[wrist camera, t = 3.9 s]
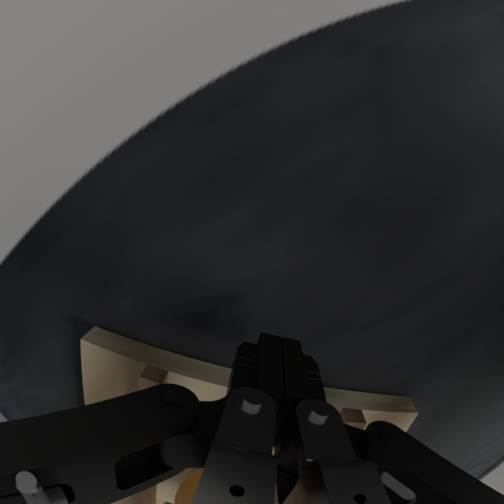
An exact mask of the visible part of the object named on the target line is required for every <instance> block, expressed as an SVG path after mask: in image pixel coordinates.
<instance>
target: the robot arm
mask: <svg viewBox="0 0 504 504" xmlns="http://www.w3.org/2000/svg"><path fill="white" fill-rule="evenodd" d="M319 373H320V372H319V368H318V364H317V363H316V362H315V360H314V359H313V358H312V357H311V356H309V355H304V354H303V353H302V348H301V342H300V341H298V340H294V339H289V338H284V337H281V338H280V337H279V336H275V335H271V334H266V333H262V332H261V333H260V336H259V339H258V342H257V344H253V343H248V342H244V343H242V344H241V345H240V346H239V347H238V349H237V352H236V356H235V360H234V363H233V367H232V371H231V374H230V378H229V382H228V388H227V393H226V396H225V397H223V398H221V399H219V400H215V401H199V399H198V397H197V396H196V395H195V394H194V392H192V391H191V390H189V389H188V388H186V387H184V386H181V385H177V384H171V383H164V384H159V385H155V386H152V387H149V388H146V389H142V390H139V391H136V392H132V393H129V394H125V395H122V396H118V397H115V398H111V399H107V400H104V401H100V402H96V403H92V404H88V405H84V406H80V407H76V408H72V409H67V410H63V411H59V412H54V413H49V414H45V415H40V416H35V417H29V418H24V419H18V420H12V421H6V422H0V504H111V503H114V502H116V501H119V500H122V499H124V498H127V497H129V496H131V495H134V494H136V493H139V492H141V491H143V490H146V489H148V488H150V487H152V486H154V485H157V484H159V483H161V482H163V481H165V480H167V479H169V478H171V477H173V476H175V475H177V474H179V473H181V472H183V471H184V470H185V468H204V469H203V472H202V475H201V478H200V481H199V484H198V487H197V490H196V493H195V496H194V499H193V501H192V504H504V495H502V494H501V493H499V492H497V491H496V490H494V489H492V488H491V487H489V486H487V485H486V484H484V483H482V482H481V481H479V480H477V479H476V478H474V477H473V476H471V475H469V474H468V473H466V472H465V471H463V470H462V469H460V468H458V467H457V466H455V465H454V464H452V463H451V462H449V461H448V460H446V459H445V458H443V457H441V456H440V455H438V454H437V453H435V452H434V451H432V450H431V449H429V448H428V447H427V446H425V445H424V444H422V443H421V442H419V441H418V440H416V439H415V438H413V437H412V436H410V435H409V434H408V433H406V432H405V431H403V430H402V429H400V428H399V427H398V426H396V425H394V424H392V423H390V422H387V421H373V422H371V423H370V424H369V425H368V426H367V427H366V429H365V430H363V429H360V428H357V427H353V426H350V425H348V424H345V423H343V420H342V418H341V415H340V413H339V412H338V410H337V409H336V408H335V407H334V406H332V405H331V404H329V403H327V400H326V396H325V392H324V388H323V384H322V381H321V376H320V374H319ZM273 447H274V454H273V455H272V453H273ZM385 471H386V472H387V473H389V474H390V475H391V476H393V477H394V478H395V479H397V480H398V481H399V482H401V483H402V484H403V485H405V486H406V487H408V488H409V489H410V490H412V491H413V492H414V493H415V495H416V497H415V498H414V499H411V500H406V499H404V498H402V497H401V496H399V495H398V494H397V493H395V492H394V491H392V490H391V489H390V488H388V487H387V486H386V485H385V484H383V482H382V480H381V476H382V474H383V473H384V472H385Z"/></svg>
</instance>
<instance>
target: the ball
mask: <svg viewBox="0 0 504 504" xmlns="http://www.w3.org/2000/svg"><path fill="white" fill-rule="evenodd" d="M203 469H204V468H201V469H199V470H197V471H195V472H193V473H191V474H190V475H189V476H188V477H186V478H185V479H184V481H183V482H182V483H181V484H180V486H179V488H178V490H177V492H176V495H175V500H174V504H192V501H193V499H194V496H195V493H196V490H197V487H198V484H199V481H200V478H201V475H202V472H203Z"/></svg>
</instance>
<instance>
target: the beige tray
mask: <svg viewBox="0 0 504 504" xmlns="http://www.w3.org/2000/svg"><path fill="white" fill-rule="evenodd" d="M81 364H82V379H83V391H84V401H85V405H88V404H92V403H96V402H100V401H104V400H107V399H111V398H115V397H118V396H122V395H125V394H129V393H132V392H136V391H139V390H142V389H146V388H149V387H152V386H155V385H159V384H164V383H171V384H177V385H181V386H184V387H186V388H188V389H189V390H191V391H192V392H194V394H195V395H196V396H197V397H198V399H199V401H215V400H219V399H221V398H223V397H225V396H226V393H227V388H228V382H229V378H230V374H231V371H232V369H231V368H227V367H223V366H219V365H215V364H211V363H207V362H204V361H200V360H196V359H193V358H189V357H186V356H182V355H179V354H176V353H172V352H169V351H166V350H162V349H159V348H156V347H153V346H150V345H147V344H144V343H141V342H138V341H135V340H132V339H129V338H126V337H123V336H121V335H118V334H115V333H112V332H110V331H107V330H104V329H102V328H99V327H97V326H94V327H93V328H92V329H91V330H90V331H89V332H88V333H87V334H85V335H84V336H83V337H82V338H81ZM323 388H324V392H325V396H326V400H327V403H329V404H331V405H332V406H334V407H335V408H336V409H337V410H338V412H339V413H340V415H341V418H342V420H343V423H345V424H348V425H350V426H353V427H357V428H360V429H363V430H365V429H366V427H367V426H368V425H369V424H370V423H371V422H373V421H387V422H390V423H392V424H394V425H396V426H398V427H399V428H400V429H402V430H403V431H405V432H406V431H407V430H408V428H409V427H410V425H411V424H412V422H413V421H414V419H415V418H416V416H417V415H418V411H417V409H416V407H415V406H414V404H413V402H412V400H411V399H410V397H409V396H396V395H385V394H374V393H365V392H356V391H349V390H341V389H334V388H327V387H323ZM273 454H274V447H273V453H272V455H273ZM199 469H201V468H185V470H184V471H183V472H181V473H179V474H177V475H175V476H173V477H171V478H169V479H167V480H165V481H163V482H161V483H159V484H157V485H154V486H152V487H150V488H148V489H146V490H143V491H141V492H139V493H136V494H134V495H131V496H129V497H127V498H124V499H122V500H119V501H116V502H114V503H111V504H166V502H170V503H173V504H174V500H175V495H176V492H177V490H178V488H179V486H180V484H181V483H182V482H183V481H184V479H185V478H186V477H188V476H189V475H190V474H191V473H193V472H195V471H197V470H199Z"/></svg>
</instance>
